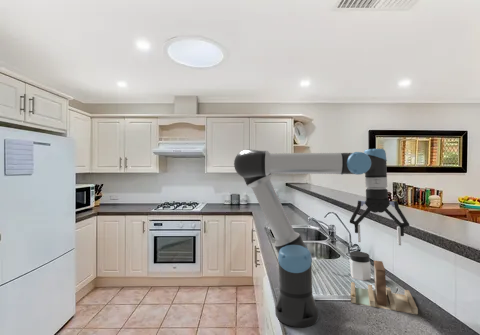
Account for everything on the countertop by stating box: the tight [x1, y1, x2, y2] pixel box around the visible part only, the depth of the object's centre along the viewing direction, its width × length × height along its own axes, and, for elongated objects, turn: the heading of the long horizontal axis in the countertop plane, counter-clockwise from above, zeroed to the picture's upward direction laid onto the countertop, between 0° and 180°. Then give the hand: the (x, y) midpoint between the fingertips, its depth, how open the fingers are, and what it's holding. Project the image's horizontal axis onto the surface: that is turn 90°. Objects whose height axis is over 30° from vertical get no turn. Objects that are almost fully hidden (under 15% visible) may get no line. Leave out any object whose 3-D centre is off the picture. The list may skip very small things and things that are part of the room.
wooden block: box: [373, 260, 387, 306], centre depth 96 cm, size 3×10×13 cm, turn 156°
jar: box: [349, 251, 372, 281], centre depth 117 cm, size 9×8×12 cm
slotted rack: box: [350, 281, 419, 315], centre depth 96 cm, size 21×14×4 cm, turn 66°
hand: (378, 243), depth 96 cm, fingers open, 13 cm apart
